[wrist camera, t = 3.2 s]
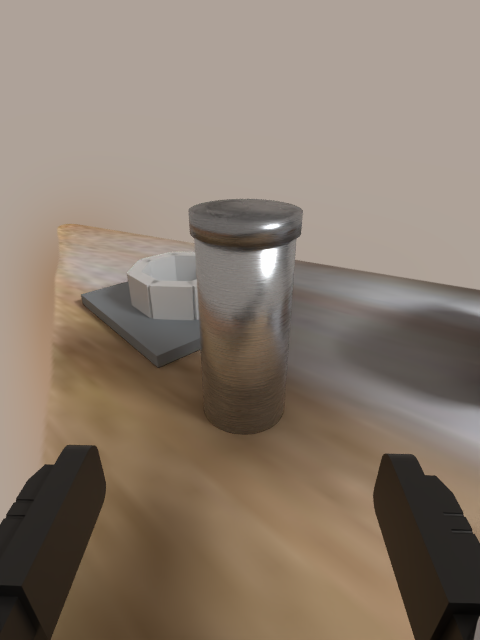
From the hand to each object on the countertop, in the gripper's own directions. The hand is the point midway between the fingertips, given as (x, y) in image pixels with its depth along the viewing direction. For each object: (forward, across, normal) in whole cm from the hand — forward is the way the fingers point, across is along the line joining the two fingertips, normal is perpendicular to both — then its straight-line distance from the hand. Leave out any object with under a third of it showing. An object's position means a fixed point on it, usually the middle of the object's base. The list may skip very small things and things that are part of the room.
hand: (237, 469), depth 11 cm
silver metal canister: (+11, 0, +7) cm, 13 cm away
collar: (+24, +6, +7) cm, 26 cm away
